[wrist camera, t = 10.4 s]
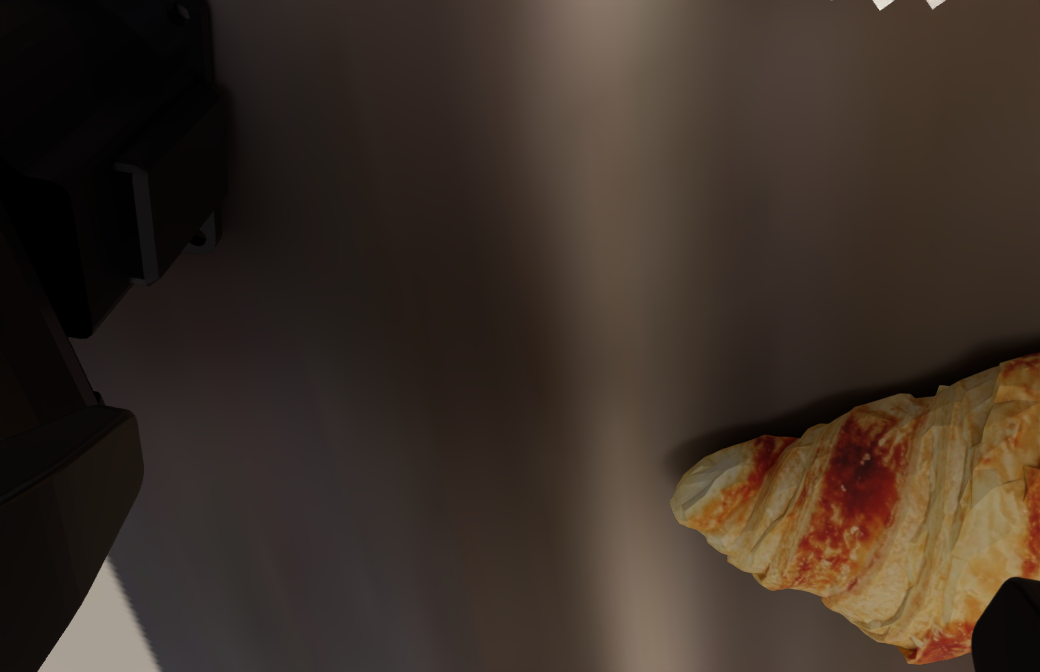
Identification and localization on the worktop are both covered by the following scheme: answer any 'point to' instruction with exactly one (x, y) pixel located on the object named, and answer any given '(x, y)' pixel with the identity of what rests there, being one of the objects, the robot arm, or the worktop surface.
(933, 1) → the carton
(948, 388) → the croissant
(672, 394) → the worktop surface
